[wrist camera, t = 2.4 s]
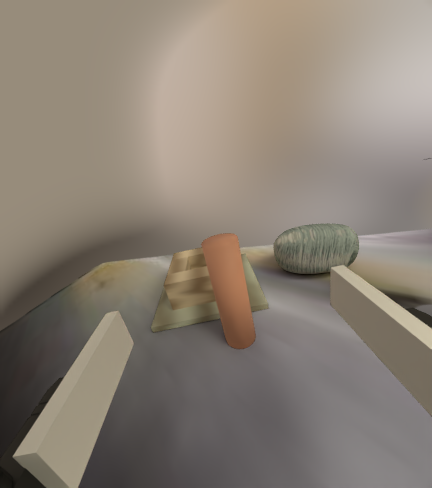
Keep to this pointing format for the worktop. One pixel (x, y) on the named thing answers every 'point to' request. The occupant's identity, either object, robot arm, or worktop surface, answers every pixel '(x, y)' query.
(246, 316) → the peg
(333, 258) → the green striped ellipsoid
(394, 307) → the robot arm
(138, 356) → the worktop surface
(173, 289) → the socket
